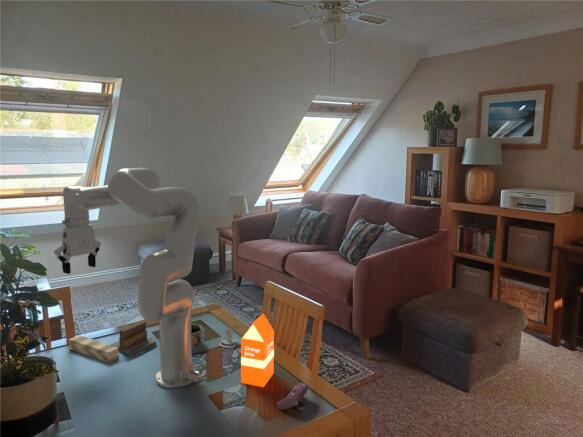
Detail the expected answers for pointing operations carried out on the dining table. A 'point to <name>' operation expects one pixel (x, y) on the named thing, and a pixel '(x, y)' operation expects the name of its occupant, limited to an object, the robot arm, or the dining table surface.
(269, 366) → the orange juice
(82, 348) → the pine batten
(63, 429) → the dining table surface
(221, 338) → the pacifier
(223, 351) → the dining table surface
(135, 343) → the ridge stand
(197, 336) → the vessel
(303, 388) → the purple oblong lump
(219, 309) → the dining table surface
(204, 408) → the dining table surface
